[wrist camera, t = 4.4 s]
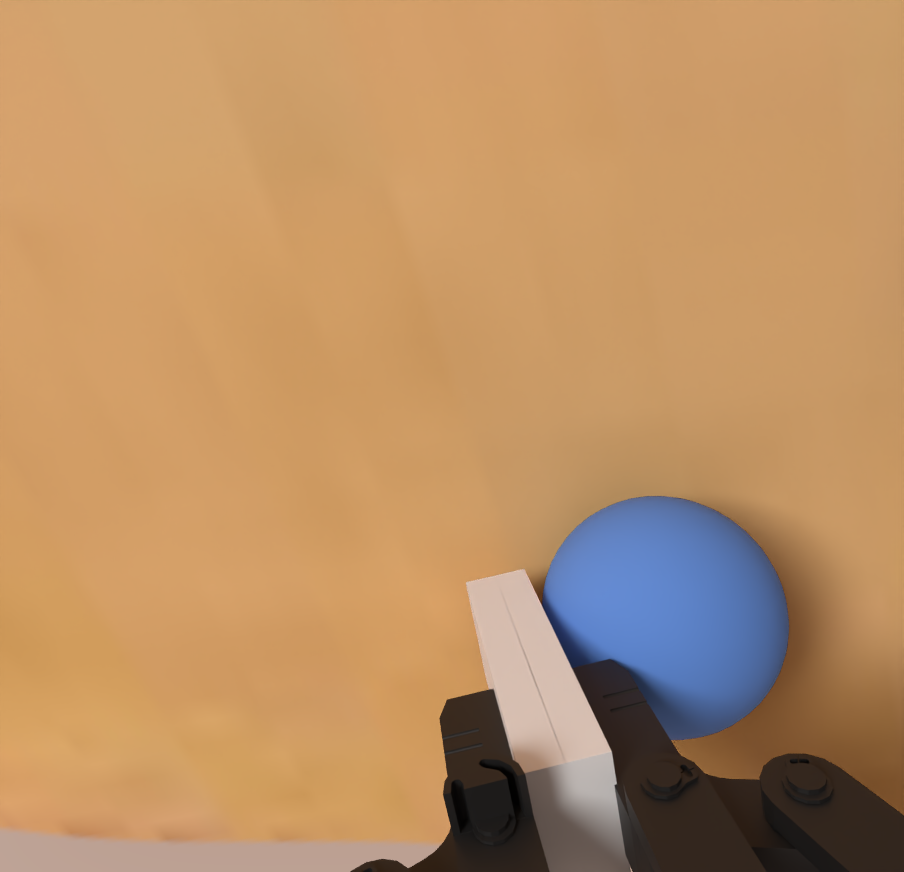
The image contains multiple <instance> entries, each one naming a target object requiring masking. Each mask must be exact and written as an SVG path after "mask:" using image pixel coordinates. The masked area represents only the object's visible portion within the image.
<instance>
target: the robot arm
mask: <svg viewBox="0 0 904 872" xmlns="http://www.w3.org/2000/svg"><path fill="white" fill-rule="evenodd" d="M466 586H467V590H468V595H469V600H470V605H471V609H472V614H473V619H474V624H475V628H476V633H477V638H478V643H479V647H480V652H481V657H482V661H483V666H484V671H485V676H486V680H487V683H488V687H489V690H486V691H481V692H477V693H473V694H469V695H465V696H461V697H456V698H452V699H448V700H447V701H446V704H445V706H444V708H443V711H442V713H441V716H440V725H441V732H442V739H443V747H444V753H445V761H446V768H447V775H448V777H447V779H446V780H445V783H444V791H443V796H444V800H445V804H446V808H447V813H448V817H449V821H450V825H451V829H450V832H449V834H448V835H447V837H446V839H445V840H444V842H443V843H442V844H441V845H440V847H439V848H438V849H437V850H436V851H435V852H434V853H432V854H431V855H429V856H428V857H427V858H426V859H424V860H422V861H420V862H419V863H417V864H415V865H414V866H412V867H410V868H407V867H405V866H404V865H402V864H401V863H399V862H398V861H393V860H386V859H380V860H375V861H370V862H366V863H364V864H363V865H361V866H359V867H357V868H356V869H354V870H352V871H351V872H631V870H630V866H631V869H632V871H633V872H904V815H902V814H901V813H900V812H898V811H897V810H896V809H894V808H893V807H892V806H890V805H889V804H888V803H886V802H885V801H884V800H882V799H881V798H880V797H878V796H877V795H876V794H874V793H873V792H872V791H870V790H869V789H868V788H866V787H865V786H864V785H862V784H861V783H860V782H858V781H857V780H856V779H854V778H853V777H852V776H850V775H849V774H848V773H846V772H845V771H844V770H842V769H841V768H839V767H838V766H836V765H834V764H832V763H830V762H829V761H827V760H825V759H823V758H819V757H815V756H812V755H808V754H786V755H782V756H779V757H775V758H773V759H772V760H771V761H769V762H768V763H767V764H766V765H764V766H763V769H762V772H761V775H760V780H746V779H726V778H718V777H715V776H711V775H708V774H705V773H704V772H703V771H702V770H701V769H700V768H699V767H698V766H697V765H696V764H695V763H694V762H692V761H690V760H688V759H686V758H684V757H682V756H681V755H680V754H679V753H678V751H677V750H676V748H675V746H674V745H673V743H672V741H671V740H670V738H669V737H668V735H667V733H666V732H665V730H664V728H663V727H662V725H661V724H660V722H659V720H658V719H657V717H656V715H655V714H654V712H653V710H652V709H651V707H650V706H649V704H647V701H646V699H645V697H644V696H643V694H642V693H641V691H639V688H638V686H637V684H636V683H635V681H634V679H633V678H632V676H631V675H630V673H629V671H628V670H626V669H625V668H623V667H622V666H620V665H619V664H617V663H616V662H614V661H613V660H611V659H607V660H603V661H599V662H595V663H590V664H586V665H582V666H578V667H574V668H571V666H570V663H569V661H568V659H567V657H566V655H565V653H564V651H563V649H562V647H561V645H560V643H559V641H558V638H557V636H556V634H555V632H554V630H553V628H552V626H551V624H550V622H549V620H548V618H547V616H546V613H545V611H544V609H543V607H542V605H541V603H540V601H539V599H538V597H537V595H536V593H535V590H534V588H533V586H532V584H531V582H530V580H529V578H528V576H527V574H526V572H525V570H524V569H521V570H517V571H513V572H508V573H504V574H500V575H495V576H491V577H487V578H483V579H478V580H474V581H470V582H466Z"/></svg>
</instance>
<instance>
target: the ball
mask: <svg viewBox="0 0 904 872" xmlns="http://www.w3.org/2000/svg"><path fill="white" fill-rule="evenodd" d="M542 607H543V609H544V611H545V613H546V616H547V618H548V620H549V622H550V624H551V626H552V628H553V630H554V632H555V634H556V636H557V638H558V641H559V643H560V645H561V647H562V649H563V651H564V653H565V655H566V657H567V659H568V661H569V663H570V666H571V668H574V667H578V666H582V665H586V664H590V663H595V662H599V661H603V660H607V659H611V660H613V661H614V662H616V663H617V664H619V665H620V666H622V667H623V668H625V669H626V670H628V671H629V673H630V675H631V676H632V678H633V679H634V681H635V683H636V684H637V686H638V688H639V691H641V693H642V694H643V696H644V697H645V699H646V701H647V704H649V706H650V707H651V709H652V710H653V712H654V714H655V715H656V717H657V719H658V720H659V722H660V724H661V725H662V727H663V728H664V730H665V732H666V733H667V735H668V737H669V738H670V740H685V739H691V738H698V737H704V736H707V735H710V734H714V733H717V732H720V731H722V730H724V729H726V728H728V727H730V726H732V725H734V724H735V723H737V722H738V721H739V720H741V719H742V718H744V717H745V716H747V715H748V714H749V713H750V712H751V711H752V710H754V709H755V708H756V707H757V706H758V705H759V704H760V703H761V702H762V700H763V699H764V698H765V696H766V695H767V694H768V692H769V691H770V690H771V688H772V686H773V685H774V683H775V681H776V679H777V677H778V675H779V673H780V671H781V668H782V665H783V662H784V658H785V655H786V651H787V645H788V636H789V619H788V610H787V603H786V598H785V594H784V591H783V588H782V585H781V582H780V580H779V577H778V575H777V573H776V571H775V569H774V567H773V566H772V564H771V562H770V561H769V559H768V557H767V556H766V554H765V553H764V551H763V550H762V549H761V547H760V546H759V545H758V544H757V543H756V542H755V541H754V540H753V538H752V537H751V536H750V535H749V534H748V533H747V532H746V531H745V530H743V529H742V528H741V527H740V526H738V525H737V524H736V523H735V522H733V521H732V520H731V519H729V518H728V517H726V516H724V515H722V514H721V513H719V512H717V511H715V510H714V509H711V508H709V507H706V506H704V505H701V504H699V503H696V502H693V501H689V500H685V499H681V498H673V497H665V496H645V497H638V498H632V499H628V500H624V501H621V502H617V503H615V504H613V505H610V506H608V507H606V508H604V509H601V510H599V511H598V512H596V513H595V514H593V515H591V516H590V517H588V518H587V519H586V520H584V521H583V522H582V523H581V524H579V525H578V526H577V527H576V528H575V529H574V530H573V531H572V532H571V534H570V535H569V536H568V537H567V538H566V539H565V541H564V542H563V544H562V545H561V547H560V548H559V549H558V551H557V553H556V555H555V557H554V559H553V561H552V563H551V565H550V568H549V571H548V574H547V576H546V581H545V585H544V590H543V599H542Z"/></svg>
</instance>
